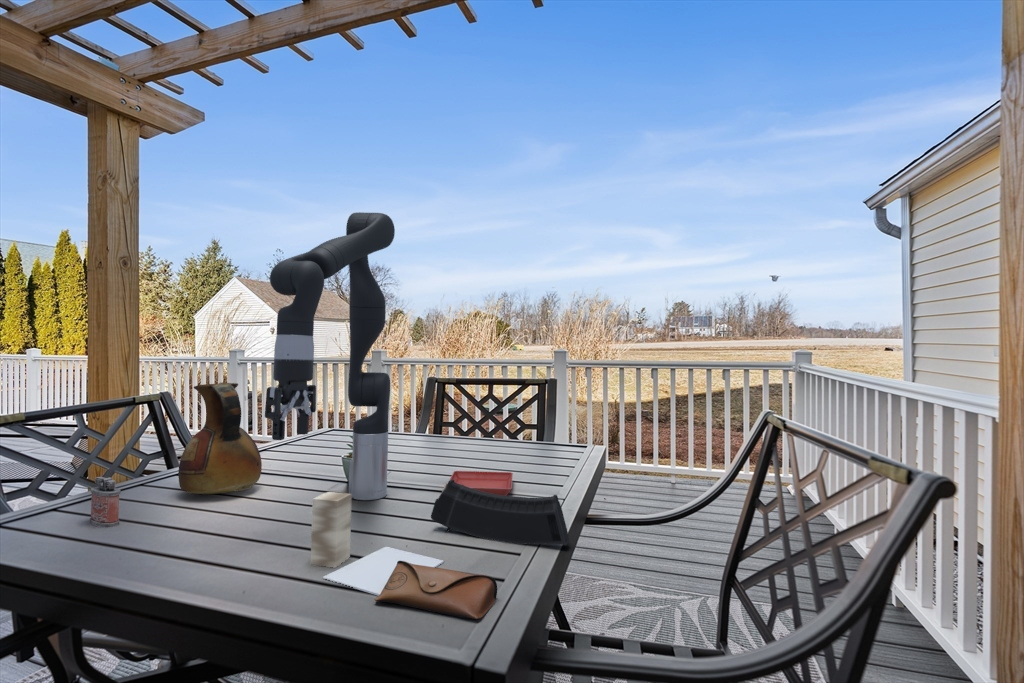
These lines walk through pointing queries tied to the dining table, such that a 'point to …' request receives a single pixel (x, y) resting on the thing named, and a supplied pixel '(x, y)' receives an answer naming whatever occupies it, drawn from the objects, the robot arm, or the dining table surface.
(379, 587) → the mat
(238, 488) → the ceramic pitcher
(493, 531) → the magazine
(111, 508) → the lighter
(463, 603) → the sunglasses case
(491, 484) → the plant saucer
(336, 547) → the birch block
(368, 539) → the dining table surface
